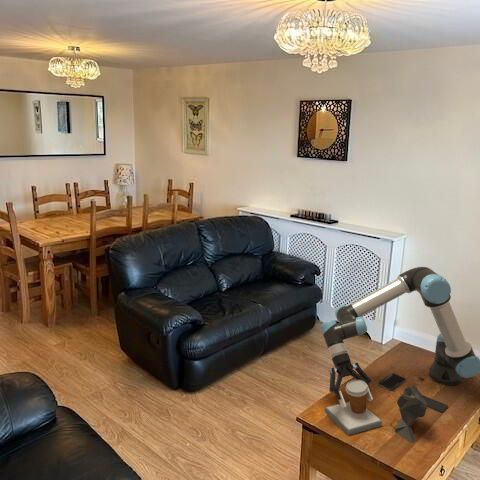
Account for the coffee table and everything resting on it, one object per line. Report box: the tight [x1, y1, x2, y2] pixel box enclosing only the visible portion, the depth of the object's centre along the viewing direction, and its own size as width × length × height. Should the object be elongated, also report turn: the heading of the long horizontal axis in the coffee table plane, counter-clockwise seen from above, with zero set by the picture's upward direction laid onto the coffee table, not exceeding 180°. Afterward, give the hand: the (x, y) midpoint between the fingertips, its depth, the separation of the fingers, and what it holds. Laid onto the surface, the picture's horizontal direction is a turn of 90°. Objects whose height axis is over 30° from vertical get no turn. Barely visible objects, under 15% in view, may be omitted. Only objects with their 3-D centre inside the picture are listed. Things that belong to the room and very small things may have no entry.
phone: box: [422, 394, 449, 414], centre depth 215 cm, size 7×1×15 cm
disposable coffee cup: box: [345, 379, 368, 414], centre depth 202 cm, size 10×10×12 cm
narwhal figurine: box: [394, 385, 428, 444], centre depth 195 cm, size 14×15×18 cm
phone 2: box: [377, 373, 407, 392], centre depth 231 cm, size 8×1×15 cm
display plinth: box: [324, 401, 383, 436], centre depth 202 cm, size 17×17×2 cm
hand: (357, 404), depth 198 cm, fingers open, 13 cm apart
